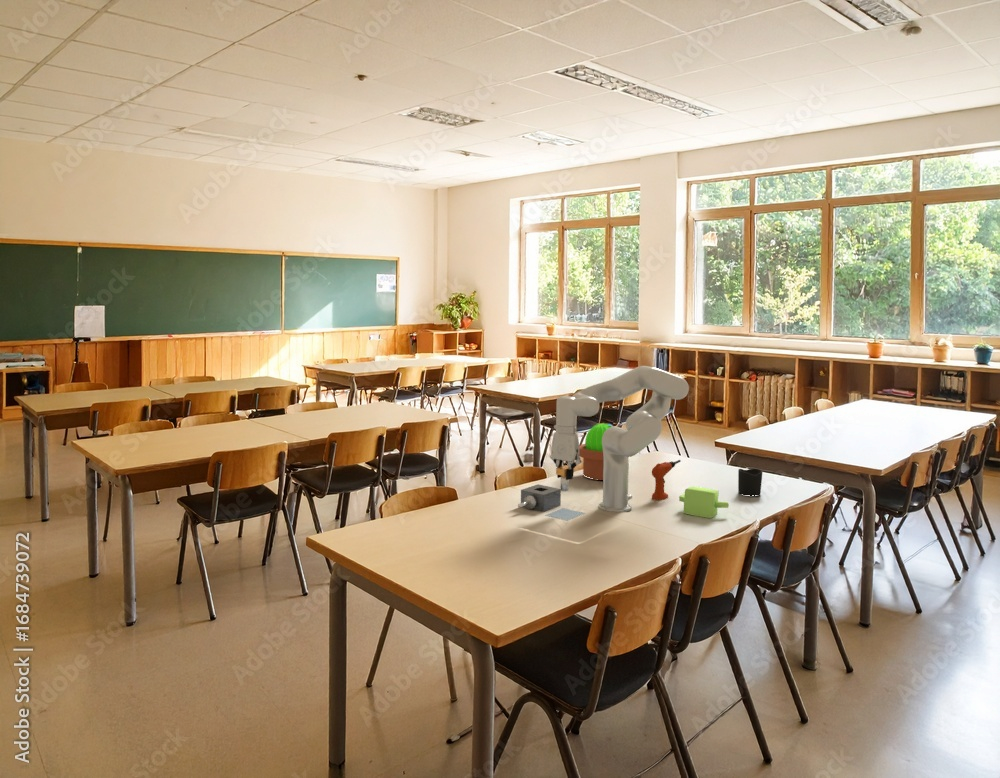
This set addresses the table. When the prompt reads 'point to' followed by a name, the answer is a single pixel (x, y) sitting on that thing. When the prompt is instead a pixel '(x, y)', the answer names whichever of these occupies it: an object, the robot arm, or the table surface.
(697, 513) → the gearbox
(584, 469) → the potted cactus
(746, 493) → the pen holder
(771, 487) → the table surface
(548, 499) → the block
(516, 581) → the table surface
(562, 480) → the chuck key
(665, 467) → the toy drill
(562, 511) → the key mat
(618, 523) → the table surface
